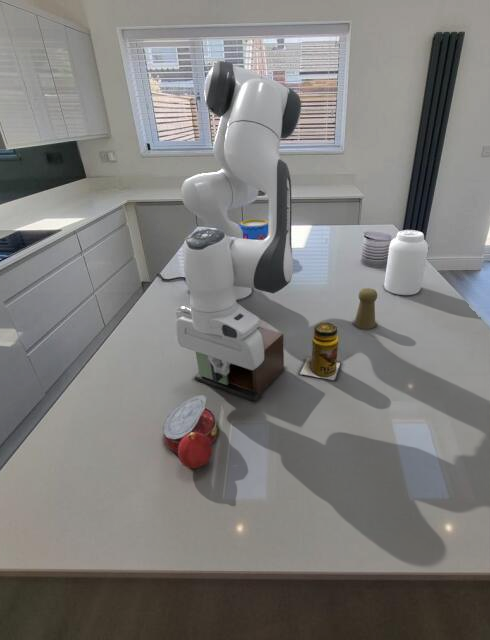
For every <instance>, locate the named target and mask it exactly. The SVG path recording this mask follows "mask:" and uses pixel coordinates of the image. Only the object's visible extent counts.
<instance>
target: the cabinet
mask: <svg viewBox="0 0 490 640" xmlns="http://www.w3.org/2000/svg"><path fill="white" fill-rule="evenodd" d="M257 329H258V330H259V332H260V333H261V335H262V339H263V346H264V361H263V362H262V363H261V364H260V365H259V366H258V367H257V368H256V369H254V370H249V369H247V368H244V367H241V366H238V365H235V364H232V363H231V364H230V366H229V369H230V372H229V373H228V382H229V383H228V384H227V385H225V384H222V383H219V382H215V381H213V380H211V379H208V378H206V377H203V376H200V375H199V372H198V373H197V374H195V375H194V379H195V380H197V381H200V382H201V383H205V384H208V385H210V386H213V387H216V388H218V389H221V390H223V391H225V392H229V393H232V394H234V395H236V396H240V397H242V398H244V399H247V400H250V401H253V402H256V401H257V400H258V399H259V398H260V394H261V393H263V392H264V390H265V389H266V388H267V387H268V386H269V385H270V384H271V383H272V382H273V380H274V379H276V377H277V376H278V375H279V374H281V372H282V371H283V370H284V369H285V354H284V353H285V351H284V350H285V349H284V348H285V347H284V333H282V332H280V331H275V330H272V329H268V328H264V327H262V326H259V327H258V328H257Z"/></svg>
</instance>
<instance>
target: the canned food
mask: <svg viewBox="0 0 490 640" xmlns="http://www.w3.org/2000/svg"><path fill="white" fill-rule="evenodd" d="M206 402H207V397H206V396H205V395H203V394H200V395H199V394H198V395H195V396H192V397H190V398H188V399H186V400H185V401H183V402H181V403H180V404H179V405H178V406H177V407H175V408H174V409H173V410H172V412H171V413H170V414H169V415H168V416H167V418H166V420H165V421H164V423H163V425H162V433H163V436H164V439H165V444H166V446H167V448H168V449H169V450H171V451H173V452H174V453H177V454H178V448H179V443H180V442H181V440H182V439H183V437H185V436H186V435H187V434H189V433H191V432H199V433H203V434H204V435H205V436H207V437H208V438H209V440H210V442H211V444H213V442H214V441H215V440H216V438H217V434H218V428H217V421H216V415H215V414H214V413H213V412H212V411H211V410H210V409H209V408H207V407H206V406H207V403H206Z"/></svg>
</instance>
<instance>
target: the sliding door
mask: <svg viewBox="0 0 490 640" xmlns="http://www.w3.org/2000/svg"><path fill="white" fill-rule="evenodd" d="M194 352H195V357H196V358H195V359H196V364H197V369H198V373H199V375H200V376H203V377H206V378H208V379H211V380H213V381H215V382H219V383H222V384H225V385H227V384H228V383H229V382H228V374H227V375H226V376H225V375H222V374H219V373H216V372H214V366H213V365H212V364H211V362H210V361H209V359H208V355H205V354H202V353H199V352H196V351H194ZM220 361H221V360H220ZM221 363H222V361H221Z"/></svg>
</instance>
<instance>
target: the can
mask: <svg viewBox="0 0 490 640" xmlns="http://www.w3.org/2000/svg"><path fill="white" fill-rule="evenodd" d="M392 239H394V237H393V236H392V235H391V234H390V233H387V232H384V231H379V230H367V231H365V232H363V242H362V251H361V264H362V265H364V266H365V267H371V268H383V267H387V261H388V253H389V246H390V243H391V241H392Z"/></svg>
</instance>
